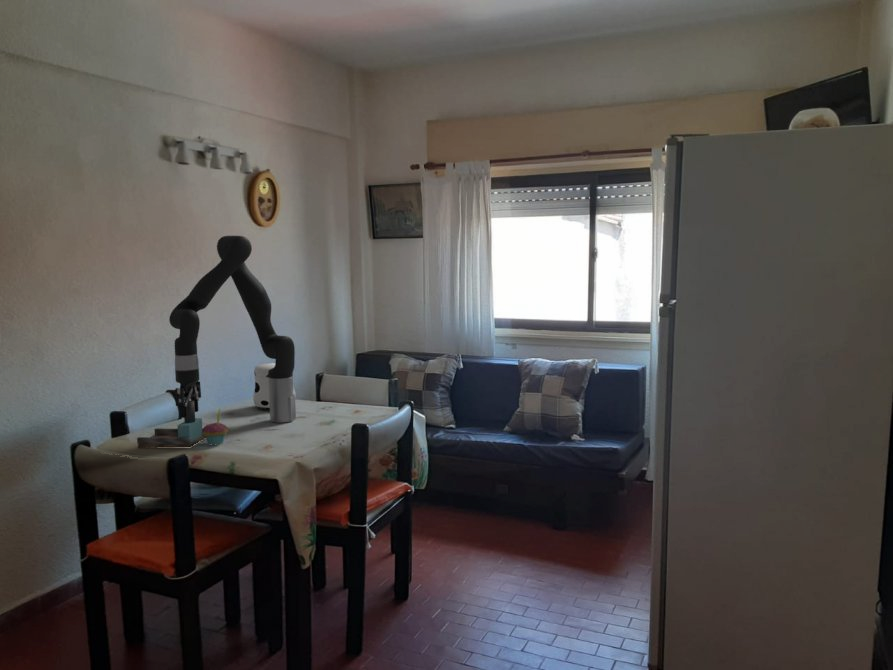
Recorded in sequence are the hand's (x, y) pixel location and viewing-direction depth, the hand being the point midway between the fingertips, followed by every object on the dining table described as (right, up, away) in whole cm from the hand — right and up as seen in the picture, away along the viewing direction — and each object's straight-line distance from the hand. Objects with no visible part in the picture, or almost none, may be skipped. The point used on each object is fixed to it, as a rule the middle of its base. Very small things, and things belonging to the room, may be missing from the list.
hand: (189, 414), depth 225 cm
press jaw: (0, -8, +1) cm, 8 cm away
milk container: (+15, -4, +55) cm, 57 cm away
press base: (-6, -10, +2) cm, 12 cm away
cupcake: (+9, -10, +1) cm, 13 cm away
